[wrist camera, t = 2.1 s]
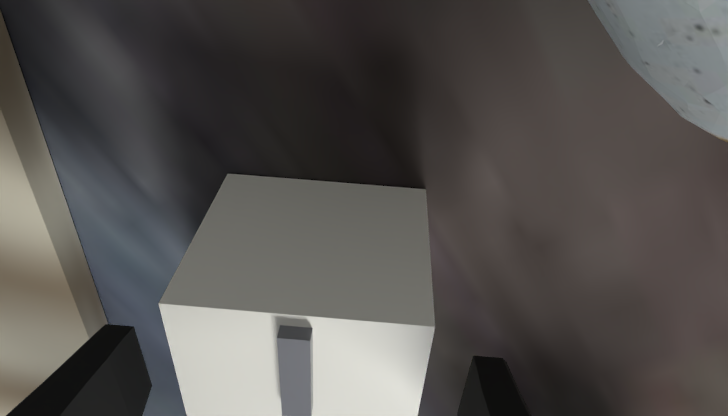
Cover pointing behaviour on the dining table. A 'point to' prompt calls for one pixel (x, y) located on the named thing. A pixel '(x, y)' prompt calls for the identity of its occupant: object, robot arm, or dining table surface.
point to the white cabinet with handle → (303, 301)
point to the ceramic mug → (676, 53)
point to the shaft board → (35, 250)
